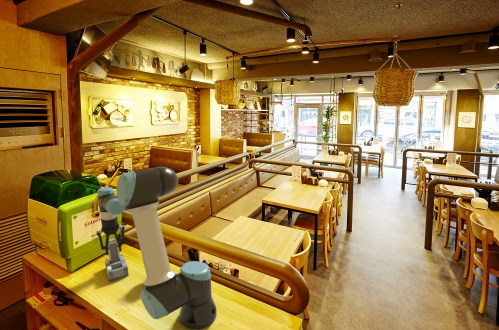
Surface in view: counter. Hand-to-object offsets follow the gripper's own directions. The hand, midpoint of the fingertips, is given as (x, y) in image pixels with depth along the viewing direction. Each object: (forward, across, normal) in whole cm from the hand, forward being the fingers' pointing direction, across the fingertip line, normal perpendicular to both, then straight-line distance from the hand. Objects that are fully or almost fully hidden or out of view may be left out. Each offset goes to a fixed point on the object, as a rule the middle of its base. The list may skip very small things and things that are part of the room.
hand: (114, 258), depth 150 cm
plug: (+3, 0, 0) cm, 3 cm away
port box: (+6, 0, +3) cm, 7 cm away
